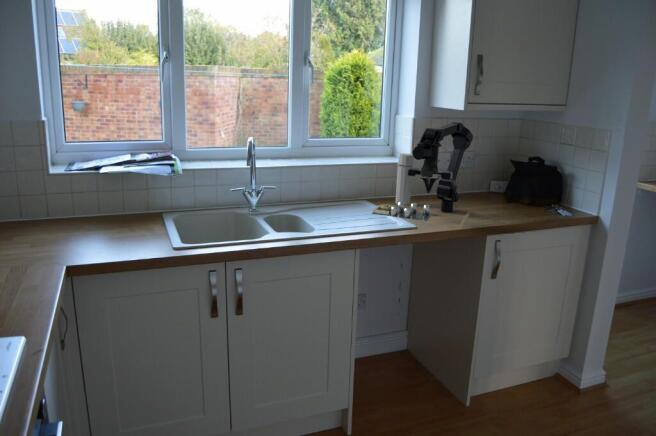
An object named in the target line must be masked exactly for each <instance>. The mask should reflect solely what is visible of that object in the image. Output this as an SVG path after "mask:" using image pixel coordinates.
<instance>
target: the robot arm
mask: <svg viewBox="0 0 656 436" xmlns="http://www.w3.org/2000/svg"><path fill="white" fill-rule="evenodd" d="M448 136H451V138H452V145H453V150H452V153H451V157H450V160H449V163H448V166H447V169H446V170H442V172H439V167H438V166H439V165H438V164H439V163H438V162H439V151H440V150H439V148H441V147H442V144H441V143H440V142H442V141H444V139H445V137H448ZM472 141H474V135H473V133H472V132H471V130H470V129H469V128H467V127H466V126H465V125H464V124H463V123H462V122H456V121H452V122H450V123H447V124H445V125H443V126H440V127H427V128H426V129H424V131H423V133H422V136H421V138H420V140H419V142H418V143H417V144H416V146H415V147H414V148H413V150H412V154H413V159H415V160H418V161H421V160H423V165H422V167H421V169H420V168H419V167H417V168H416V167H413V168H410V169H409V170H408V176H412V177H415V176H416V175H420V177H419V178H420V179H421V180H422V181H423V182H424V185H425V189H426V193H427V194H430V193H431V191H432V188H433V186H434V184H435V183H436V181H437V180H438V184H437V186H436V198H437V200H441V201H440V202H441V203H440V212H441V213H444V214H450V213H453V212H454V205H455V204H454V203H458V201H459V198H460V196H459V193H458V191H457V189H458V187H457V183H456V180H457V177H458V173H459V170H460V167H461V163H462V160H463V156H464V154H465V151H467V149H468V148H469V147H470V146H471V143H472ZM440 178H441V179H440Z"/></svg>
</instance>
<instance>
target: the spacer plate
mask: <svg viewBox="0 0 656 436" xmlns="http://www.w3.org/2000/svg"><path fill="white" fill-rule="evenodd" d="M381 205H382V204H378V205H377V206H376V207H374V208H373V209H372V211H371V215H378V216H385V217H386V216H387V217H393V218H401V219H409V220H416V221H417V220H418V221H425V222H426V221H428V220H429V218H431V216H432V215H433V213H430V210H431V209H430V208H431V204H423V211H422V212H419V211H417V210H418V209H417V208H418V204H417V203H415V202H412V203H411V202H410V207H405V205H404V202H398V204H397V206H395V205H393V206H392V207H391V213H389V211H383V210H381ZM404 207H405V208H404Z"/></svg>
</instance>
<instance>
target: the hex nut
mask: <svg viewBox="0 0 656 436" xmlns="http://www.w3.org/2000/svg"><path fill="white" fill-rule="evenodd" d="M380 205H381V210H383V211H389V213H391V207H392V206H394V205H392V204H389V203H385V204H384V203H383V204H380Z"/></svg>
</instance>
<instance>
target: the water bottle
mask: <svg viewBox="0 0 656 436" xmlns="http://www.w3.org/2000/svg"><path fill="white" fill-rule="evenodd" d="M413 165H414V157H413V153H399V155H398V162H397V164H396V166H397V173H396V190H395V204H397V205H398V202H404V206H406V205H408V206H409V205H411V198H412V197H411V196H412V184H413V183H412V182H413V181H412V180H413V176H408V170H409V169H410V168H414V166H413Z"/></svg>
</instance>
